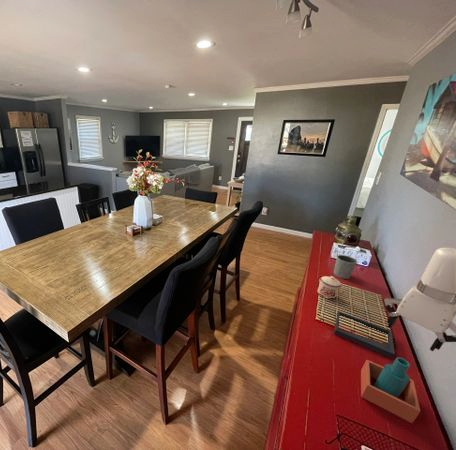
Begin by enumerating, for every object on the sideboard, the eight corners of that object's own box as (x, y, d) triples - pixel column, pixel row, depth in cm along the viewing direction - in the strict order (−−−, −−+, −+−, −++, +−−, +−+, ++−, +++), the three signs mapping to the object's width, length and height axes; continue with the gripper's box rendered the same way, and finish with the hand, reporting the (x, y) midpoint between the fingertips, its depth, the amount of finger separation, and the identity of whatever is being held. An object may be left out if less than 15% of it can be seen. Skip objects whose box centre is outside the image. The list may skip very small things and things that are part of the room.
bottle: (394, 393, 84) (414, 360, 78) (396, 407, 79) (417, 374, 73) (372, 382, 87) (389, 350, 81) (373, 395, 83) (391, 362, 77)
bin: (406, 391, 84) (413, 380, 82) (412, 423, 75) (420, 411, 73) (360, 370, 91) (366, 359, 89) (361, 396, 82) (367, 385, 80)
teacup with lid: (316, 295, 133) (322, 278, 128) (316, 287, 140) (322, 270, 135) (342, 304, 127) (350, 286, 122) (342, 295, 134) (348, 277, 129)
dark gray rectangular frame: (388, 335, 108) (391, 330, 107) (392, 358, 96) (395, 354, 95) (336, 314, 119) (338, 310, 118) (333, 334, 108) (335, 329, 107)
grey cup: (353, 281, 147) (360, 264, 143) (334, 277, 150) (340, 261, 145) (347, 272, 156) (353, 256, 152) (329, 269, 159) (334, 253, 154)
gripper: (489, 305, 61) (456, 353, 68) (401, 272, 75) (380, 314, 82) (482, 315, 58) (447, 365, 64) (391, 278, 72) (370, 322, 78)
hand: (410, 336), depth 73 cm, fingers open, 9 cm apart
